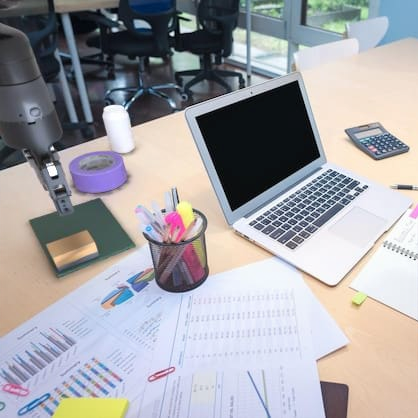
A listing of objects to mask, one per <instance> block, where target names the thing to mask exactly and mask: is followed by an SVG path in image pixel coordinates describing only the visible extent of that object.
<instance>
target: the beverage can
mask: <svg viewBox="0 0 418 418" xmlns="http://www.w3.org/2000/svg"><path fill="white" fill-rule="evenodd" d="M102 120H103V124H104V129H105V132H106V136H107V141H108V143H109V147H110V151H111V152H115V153H118V154H128V153H130V152H131V151H132V150H134V149H135V148H136V143H135V137H134V134H133V129H132V125H131V124H132V123H131V119H130V114H129V112H128V111H127V110H126V109H125V106H123V105H120V104H111V105H107V106H105V107H103V113H102Z"/></svg>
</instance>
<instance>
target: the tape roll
mask: <svg viewBox="0 0 418 418" xmlns="http://www.w3.org/2000/svg"><path fill="white" fill-rule="evenodd" d="M125 165H126V164H125V161H124V157H123V156H122V155H121V153H117V152H114V151H112V150H97V151H91V152H86V153H83V154H80V155H78V156H76V157H75V158H73V159H72V160H71V161H70V162H69V163H68V171H69V174H70V177H71V180H72V183H73V185H74V188H75V189H77V190H78V191H79V192H82V193H89V194H99V193H105V192H110V191H112V190H115V189H118V188H119V187H120V186H122V185H123V184H125V183H126V181H127V179H128V173H127V170H126V166H125Z"/></svg>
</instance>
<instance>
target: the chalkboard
mask: <svg viewBox="0 0 418 418" xmlns="http://www.w3.org/2000/svg"><path fill="white" fill-rule="evenodd" d="M73 208H74V212H73V213H71V214H68V215H65V216H59V214H58V212H57V210H55V211H52V212H50V213H47V214H46V213H45V214H43V215H40V216H37V217H34V218H31V219H28V222H29V224H30V225H31V227H32V230H33V232H34V234H35V236H36V238H37V239H38V241H39V243H40V245H41V247H42V249H43V251H44V253H45V255H46V257H47V259H48V262H49V263H50V265H51V267H52V269H53V271H54V273H55V275H56V277H57V278H58V279H59V278H62V277H65V276H66V275H68V274H72V273H75V272H77V271H79V270H82V269H84V268H86V267H88V266H91V265H94V264H96V263H98V262H101V261H104V260H106V259H109V258H111V257H114V256H116V255H119V254H121V253H124V252H125V251H128V250H130V249H133V248H135V247H136V246H137V245H136V243H135V241H133V239H132V238H131V236H129V234H128V233H127V231H126V230H125V229H124V227H123V226H122V225H121V223H120V222H119V220H117V218H116V217H115V216H114V214H113V213H112V212H111V211H110V209H109V207H107V205H106V204H105V202H104V201H103V200H102V199H101V197H96V198H94V199H90V200H88V201H83V202H80V203H78V204H74V205H73ZM85 230H87V231H88V233H89V234H90V236H91V237H92V239H93V240H94V242H95V244H96V247H97V250H98V253H99V256H98V257H95V258H93V259H90V260H88V261H85V262H83V263H80V264H78V265H75V266H73V267H70V268H68V269H65V270H63V271H60V272H59V271H58V269H57V267H56V266H55V264H54V262H53V260H52V258H51V255H50V253H49V251H48V249H47V246H46V244H49V243H52V242H55V241H57V240H60V239H63V238H66V237H69V236H71V235H74V234H77V233H80V232H83V231H85Z"/></svg>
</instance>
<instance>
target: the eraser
mask: <svg viewBox="0 0 418 418" xmlns="http://www.w3.org/2000/svg"><path fill="white" fill-rule="evenodd" d="M46 246H47V249H48V251H49V253H50V255H51V258H52V260H53V262H54V264H55V266H56V267H57V269H58V271H59V272H60V271H63V270H65V269H68V268H70V267H73V266H75V265H78V264H80V263H83V262H85V261H88V260H90V259H93V258H95V257H98V256H99V253H98V250H97V247H96V244H95V242H94V240H93V239H92V237H91V236H90V234H89V233H88V231H87V230H85V231H83V232H80V233H77V234H74V235H71V236H69V237H66V238H63V239H60V240H57V241H55V242H52V243H49V244H46Z"/></svg>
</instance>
